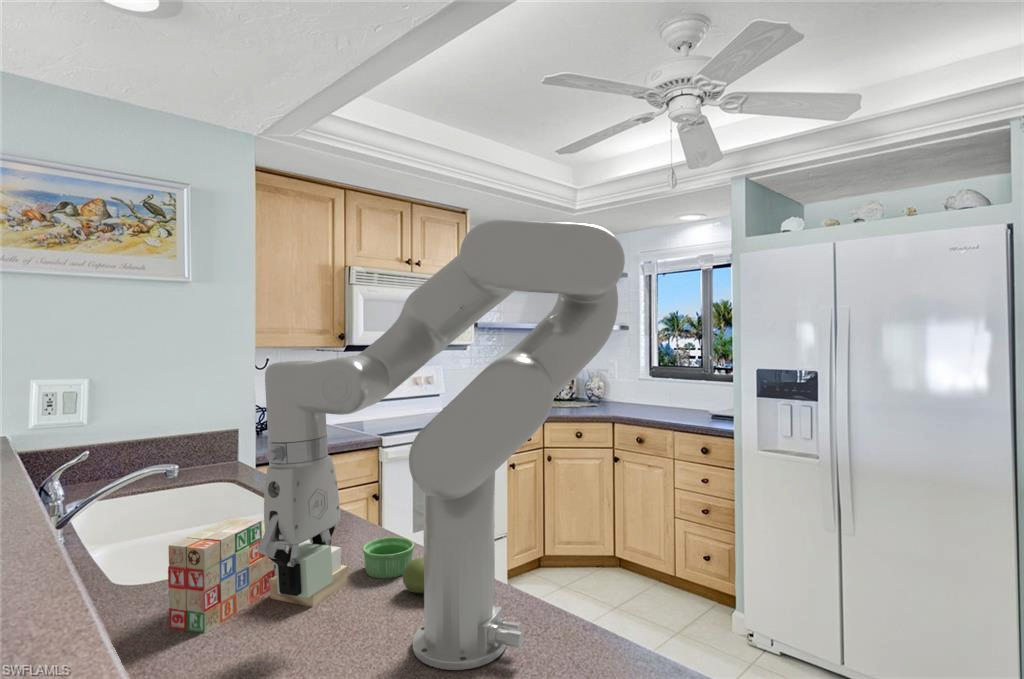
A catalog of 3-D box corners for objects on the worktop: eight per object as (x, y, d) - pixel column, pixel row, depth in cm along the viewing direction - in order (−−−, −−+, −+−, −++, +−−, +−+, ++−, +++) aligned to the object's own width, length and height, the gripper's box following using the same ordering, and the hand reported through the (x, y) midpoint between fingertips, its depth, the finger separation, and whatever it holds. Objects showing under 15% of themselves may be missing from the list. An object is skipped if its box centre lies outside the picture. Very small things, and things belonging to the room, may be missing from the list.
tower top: (341, 568, 94) (340, 547, 94) (313, 586, 87) (313, 563, 87) (306, 563, 96) (306, 542, 96) (276, 579, 90) (276, 558, 90)
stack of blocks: (267, 569, 102) (266, 501, 102) (297, 573, 100) (297, 503, 100) (168, 629, 81) (167, 543, 81) (204, 634, 79) (203, 547, 79)
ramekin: (398, 583, 95) (397, 557, 95) (352, 576, 98) (352, 551, 98) (423, 563, 104) (423, 539, 104) (380, 557, 107) (380, 534, 107)
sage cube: (332, 581, 78) (330, 545, 78) (307, 597, 74) (305, 559, 74) (304, 578, 80) (302, 542, 80) (277, 593, 75) (275, 556, 75)
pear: (420, 549, 96) (468, 571, 91) (416, 578, 96) (463, 602, 91) (397, 560, 91) (446, 584, 86) (393, 591, 91) (441, 617, 86)
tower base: (347, 586, 95) (347, 565, 95) (313, 609, 87) (313, 587, 87) (307, 579, 98) (307, 559, 98) (270, 600, 90) (269, 579, 90)
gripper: (273, 466, 68) (281, 618, 68) (359, 440, 83) (366, 563, 83) (226, 464, 70) (233, 610, 70) (318, 439, 86) (324, 558, 86)
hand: (305, 583), depth 77 cm, fingers closed on sage cube, 4 cm apart
